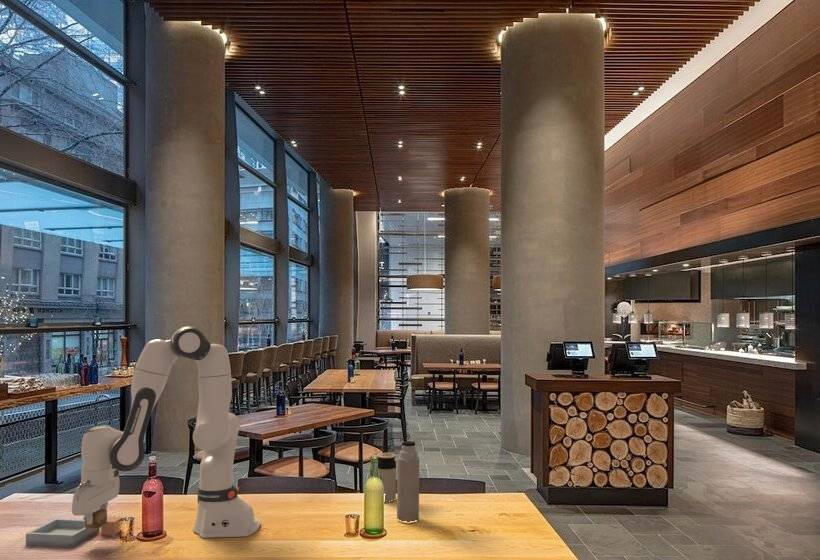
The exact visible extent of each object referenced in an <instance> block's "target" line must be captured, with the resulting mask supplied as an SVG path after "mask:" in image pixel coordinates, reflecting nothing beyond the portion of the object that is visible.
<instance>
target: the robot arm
mask: <svg viewBox="0 0 820 560" xmlns="http://www.w3.org/2000/svg"><path fill="white" fill-rule="evenodd" d="M181 358H182V359H189V360H193V361H195V362H196V365H197V373H198V375H197V377H198V379H197V381H198V407H197V415H196V421H195V428H194V430H193V431H192V440H193V441H192V442H193V444H194V445H195V447H196V448H198V449H199V450H201V451H204V452H203V455H202V458H201V461H200V465H199V485H198V486H199V487H197V513H196V518H195V523H194V525H193V529H192V531H193V532H194V533H195V534H197V535H199V537H200V538H202V539H205V538H206V539H207V538H234V537H235V538H237V537H238V538H239V537H240V538H241V537H243V538H244V537H247V536H251V535H253V534H254V533H256V532H257V531H258V530H259V529H260V528H259V527H261V526H260V525H261V524H262V523H261V520H259V519H255V513H254V509H253V508H252V506H251V505H250V504H248V503H247V502H245V501H244V499H242V498H241V497H239V496H238V494H239V493H238V491H239V490H240V486H238V487H235V486H234V484H233V482H234V481H233V480H234V479H233V478H234V477H233V474H234V460H235V458H234V457H235V453H236V449H237V441H238V434H239V431H240V427H241V424H240V420H239V418H238V416H237V415H235V413H233V412H230V406H231V401H232V397H233V391H232V390H233V388H232V370H231V363H230V357H229V352H228V350H227V348H226V347H225V346H224V345H222V344H219V343H210V342H209V340H208V339H207V337H206V336H205V334H204V333H203V332H202V331H201V330H200V329H199V328H197V327H195V326H189V325H187V326H182V327H180V328H178V329H177V330H176V331H175V332H174V333H173V335H171V336H170V337H169V338H168V339H167V340H164V339H157V338H156V339H152V340H150V341H148V342H146V343H145V345H144V347H143V349H142V351H141V353H140V355H139V356H138V360H137V362H136V364H135V368H134V369H133V372H132V373H133V374H132V378H131V386H130V393H131V394H130V395H131V406H130V411H129V413H128V414H129V415H128V416H127V420H126V424H125V427H124V429H123V431H122V430H119V429H116V428H113V427H112V426H110V425H108V424H101V425H97V426H94V427H91V428H89V429H87V430H86V431H85V432H84V434H83V436H82V441H81V460H82V464H81V469H80V471H81V474H80V476H81V477H80V484H78V485H77V487H76V489H75V491H74V493H73V495H72V497H73V498H72V503H71V512H72V515H73V516H84V515H85V517H86V519H87V524H92V523H94V522H95V517H93V516H92V513H93V510H94V509H95V508H97V507H99V506H100V509H107V508H108V505H109V502H110V501H112V500H114V499H116V498H117V497H118V496H119V493H120V477H119V476H120V475H121V472H123V473H124V472H131V471H133V470H135V469H137V468H138V467H140V465H142V463H143V462H144V460H145V446H144V445H145V444H144V440H145V435H146V431H147V428H148V425H149V421H150V418H151V415H152V412H153V410H154V407H155V406H156V404H157V402H158V400H159V398H160V396H161V395H162V393H163V391H164V389H165V386H166V384H167V382H168V379H169V376H170V373H171V370H172V368H173V367H172V366H173V365H174V363H175V362H176V361H177V360H178V359H181ZM112 467H113V468H112ZM107 510H108V509H107Z"/></svg>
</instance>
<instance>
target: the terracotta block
mask: <svg viewBox="0 0 820 560" xmlns="http://www.w3.org/2000/svg"><path fill="white" fill-rule="evenodd" d="M120 519H122V520H123V517H116V516H109V517H107V524H105V525H104V526H102V527H100V528H101V529H100V530H101V532H100V535H101V536H115V535H117V534H119V533H118V531H119V520H120Z"/></svg>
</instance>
